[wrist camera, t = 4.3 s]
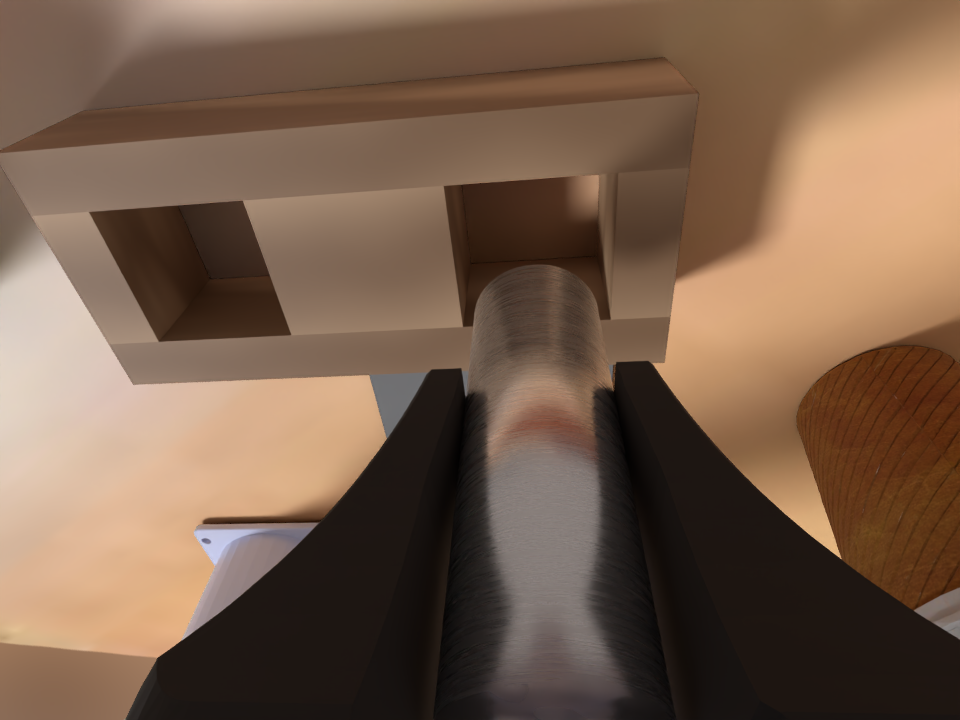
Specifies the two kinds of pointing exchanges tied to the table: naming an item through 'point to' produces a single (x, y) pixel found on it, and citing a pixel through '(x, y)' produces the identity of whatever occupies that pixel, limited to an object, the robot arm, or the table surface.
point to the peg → (546, 524)
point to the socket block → (356, 216)
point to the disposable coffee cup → (892, 472)
